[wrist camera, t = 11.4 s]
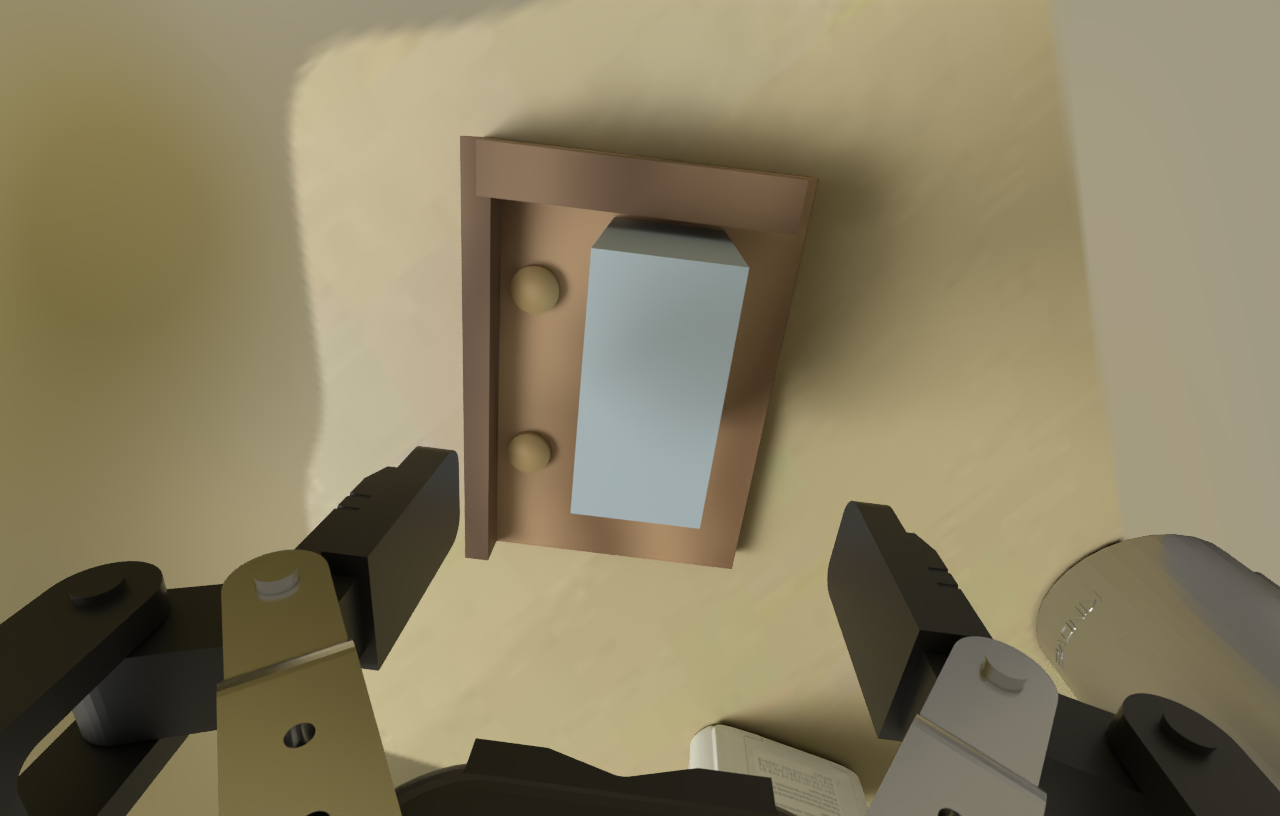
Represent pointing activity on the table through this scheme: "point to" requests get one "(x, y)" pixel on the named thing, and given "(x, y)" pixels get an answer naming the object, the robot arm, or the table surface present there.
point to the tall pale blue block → (655, 369)
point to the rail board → (555, 326)
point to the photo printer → (781, 771)
